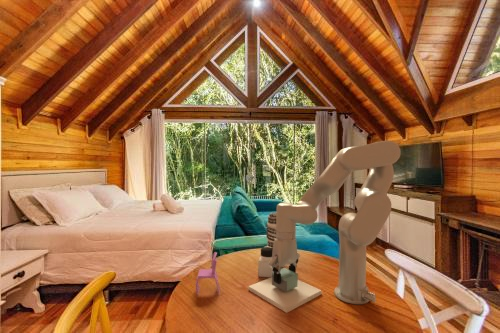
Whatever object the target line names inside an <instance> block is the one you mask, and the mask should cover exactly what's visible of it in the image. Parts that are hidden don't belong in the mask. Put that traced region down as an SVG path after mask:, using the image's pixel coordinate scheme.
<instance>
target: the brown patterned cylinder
mask: <svg viewBox="0 0 500 333" xmlns="http://www.w3.org/2000/svg"><path fill="white" fill-rule="evenodd" d="M276 213H277V212H270V213H269V214H268V215H267V223H266V225H265V226H266V228H265V229H266V235H265V236H266V242H267V245H266V246H268V247H272V248H273V244H274V240H275V239H276ZM278 264H279V263H278Z"/></svg>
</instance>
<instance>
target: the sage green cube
mask: <svg viewBox="0 0 500 333" xmlns="http://www.w3.org/2000/svg"><path fill="white" fill-rule="evenodd" d="M280 274H281V284H277V283H275V282H274V272H272V285H273V286H275V287H277V288H279V289H281V290H283V291H285V292H286V291H288V290H291V289H293V288H295V287H297V285H298V280H299V278H298V277H299V276H298V275H299V273H297V272H296V273H295V272H293V271H291V270H289V268H286V267H282V268H281V271H280Z"/></svg>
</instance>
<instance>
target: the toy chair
mask: <svg viewBox="0 0 500 333" xmlns="http://www.w3.org/2000/svg"><path fill="white" fill-rule="evenodd" d="M217 254H218V252H216V251H214V252H213V255H212V258H211V262H210V265H211V266H210V269H207V268H200V269H199V270H198V273H197V276H196V282H195V290H196V291H195V292H196V296H197V297H198V296H199V291H200V285H199V280H202V279H214V280H215V283H216V288H217V295H218V296H220V285H219V279H218V274H217V271H216V269H217V268H216V267H217V256H218V255H217Z"/></svg>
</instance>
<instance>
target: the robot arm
mask: <svg viewBox="0 0 500 333" xmlns="http://www.w3.org/2000/svg"><path fill="white" fill-rule="evenodd" d="M401 151H402V150H401V148H400V146H399V145H398V144H397V143H396V142H394V141H392V140H382V141H376V142H373V143H368V144H363V145H357V146H350V147H349V146H348V147H345V148H342V149H339V151H338V152H337V153H336V154H335V156H334V157H333V159H331V161H330V162H329V164H328V165H327V167H326V168H325V169H324V170H323V171H322V173H321V174H320V175H319V177H318V178H317V179H316V180H315V181H314V182H313V183H312V185H311V186H310V187H309V188H308V189H307V190H305V193H304V194H303V195H302V196H301V198H300V199H299V201H297V203H296V204H294V203H291V202H280V203H278V204H277V205H276V212H275V213H276V239H275V240H274V244H273V251H272V260H271V262H270V263H269V266H270V268H271V270H272V271H273V272H274V282H275V283H277V284H281V274H280V271H281V269H282V268H285V267H286V266H288V270H291V271H293V272H295V273H297V267H298V265H297V264H298V263H299V260H300V256H301V255H300V253H298V247H297V243H298V242H297V238H296V234H297V233H296V231H297V230H296V229H297V228H296V226H297V224H300V225H307V226H308V225H312V224H314V223H316V221H317V219H318V215H319V214H318V211H317V208H318V207H319V205H321V203H322V202H323V201H324V200H326V199H327V197H329V196H331V195H333V194H335V193H337V192H338V191H339V190H340V188H341V187H342V186H343V184H344V183H345V182H346V180H347V179H348V178H349V177H350V176H351V174H352V173H353V172H354V171H362V170H368V171H369V172H368V173H367V174H368V175H367V176H366V178H365V181H364V182H363V184H362V186H361V187H360V189H359V190H358V192H357V194H356V196H355V198H354V206H355V208H356V209H357V210H358V211H357V213H356V212H347V213H345V214H343V215H342V216H341V217H340V219H339V223H338V237H339V239H338V240H339V253H338V255H339V256H338V260H339V261H338V286H336V287H335V288H334V292H333V294H334V295H335V297H336V298H337V299H339V300H341V301H342V302H345V303H348V304H351V305H352V304H353V305H364V304H367V303H369V302H372V303H376V300H377V298H376V293H374V292H370V291H369V286H367V285H366V284H367V283H366V282H367V281H366V279H367V278H366V277H367V276H366V275H367V246H369V245H371V244H372V243H373V242H374V241H375V240H376V239H377V237H378V235H379V233H380V232H381V230H382V228H383V227H384V225H385V223H386V222H387V220H388V218H389V217H390V214H391V212H392V200H391V198H390V197H389V196H388V195H387V193H388V191H389V189H390V187H391V186H392V184H393V181H394V177H395V176H394V175H395V174H394V173H395V171H394V166H393V165H394V164H395V163H397V161H398V160H399V159H400V158H401V153H402V152H401ZM278 263H279V264H278ZM274 264H275V265H274Z"/></svg>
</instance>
